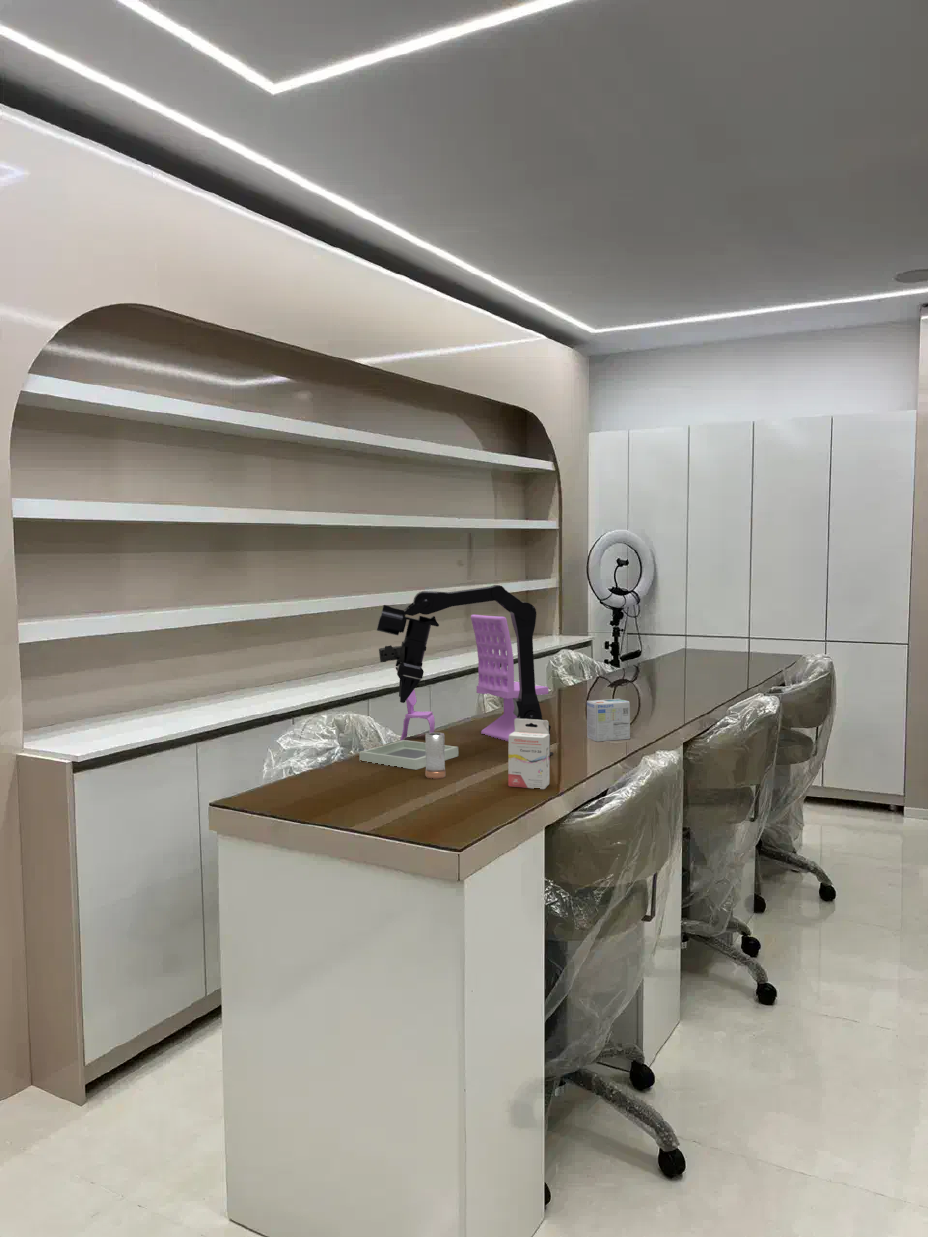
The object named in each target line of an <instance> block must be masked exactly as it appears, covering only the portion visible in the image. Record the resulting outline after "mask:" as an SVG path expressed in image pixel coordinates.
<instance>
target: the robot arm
mask: <svg viewBox="0 0 928 1237" xmlns="http://www.w3.org/2000/svg"><path fill="white" fill-rule="evenodd" d="M492 601H493V602H494V601H495V602H496V603H497V604H499V605H500V606H501V607H502V608H504V609H505V610H506V611H507V612H509V616H510V618H511V622H512V624H511V625H512V627H513V630H514V633H515V637H516V647H517V648H516V650H517V651H516V652H517V665H518V666H517V667H518V669H517V670H518V682H519V688H520V691H519V696H518V698H513V702H514V712H513V713H514V714H515V715H516V717H517V718H518V719H536V720H544V719H543V715H542V714H543V713H542V709H541V705H540V702H539V698H538V695H536V691H535V686H536V679H535V678H536V677H535V660H534V642H533V636H534V634H535V632H534V631H535V628H536V622H537V609H536V608H535V606H534V605H533V604H532V603H530V602H527V601H521V600H520V599H519V598H517V597H516V596H514V595H513V594H512V593H511V592H509V591H507V590H506V589H505V587H503V586H502V585H500V584H493V585H490V586H485V587H484V586H483V587H477V588H470V589H461V590H455V591H449V592H448V591H432V590H431V591H430V590H429V591H428V590H422V591H419V592H418V593H416V594H415V596H414V597H413V601H412V603H411V604H409V605H408V606H405V608H404V609H400V608H397V607H392V606H390V605H387V604H383V606H382V610H381V612H380V616H379V619H378V622H377V627H376V631H377V632H380V633H385V634H390V635H394V636H399V634H402V633H404V632H405V636H404V639H403V641H401V645H398V646H397V645H396V646H392V645H385V646H384V647H381V648H380V647H379V648H378V652H379V653H378V654H379V662H380V663H386V662H388V661H395V670H396V672H397V673H396V674H397V677H398V678H399V687H398V688H399V689H398V697H399V702H400V703H403V704H406V700H407V698H408V697H409V696H410V694H411V693H412V691H413V690H415V688H417V686H418V685H419V684H420V682H421V680H422V679H423V677H424V674H425V671H424V669H423V664H424V662H423V660H424V657H425V652H426V650H427V644H428V639H429V635H430V631H431V627H436V628H437V627H439V626H440V623H438V622H437V619H436V616H435V615H432V616H431V617H426V616H422V615H427V616H428V615H431V614H435V613H437V612H440V611H444V610H445V609H448V608H451V607H456V606H457V607H458V606H464V605H465V606H466V605H472V604H479V603H481V604H482V603H485V602H492ZM418 614H420V615H419V616H418V618H414V617H412V616H416V615H418ZM406 615H408V616H406ZM409 616H410V617H409ZM407 621H408V624H407ZM406 624H407V628H406ZM405 629H406V631H405ZM525 726H526V727H537V725H536V724H533V723H530V724H526V725H525ZM551 728H552V726H551V725H550V724H549V734H550V735H551ZM549 743H550V744H549V749H550V750H549V753H550V754H549V757H550V756H552V755H554V752H552V751H551V739H550V740H549Z"/></svg>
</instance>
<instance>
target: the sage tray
mask: <svg viewBox="0 0 928 1237" xmlns="http://www.w3.org/2000/svg"><path fill="white" fill-rule="evenodd" d="M444 748H445V761H448V760H450V759H453V758H456V757H459V746H453V745H447V744H444ZM358 758H359V761H360V760H362V761H367V762H366V763H368V762H372V763H371V764H375V763H378V764H377V765H381V764H384V765H383V766H388V765H390V766H389V767H394V766H397V767H396V768H401V767H403V768H402V769H409V770H414V771H415V770H420V769H423V768H426V742H423V741H416V740H407V739H403V740H401V741H400V740H397V741H393V742H391V743H386V744H383V745H380V746H375V747H373V748H369V749H365V750H361V751H359V757H358Z"/></svg>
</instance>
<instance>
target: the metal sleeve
mask: <svg viewBox="0 0 928 1237" xmlns="http://www.w3.org/2000/svg"><path fill="white" fill-rule="evenodd" d="M424 736H425V743H426V767H425V770H424V771H425V776H426V777H427V778H426V777H425V778H426V779H429V778H431V780H439V779H443V778H446V762H445V761H446V760H445V748H444V745H445V733H444V732H435V731H434V733H430V732H428V733H427V732H426V733H425V735H424ZM432 778H433V779H432Z"/></svg>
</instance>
